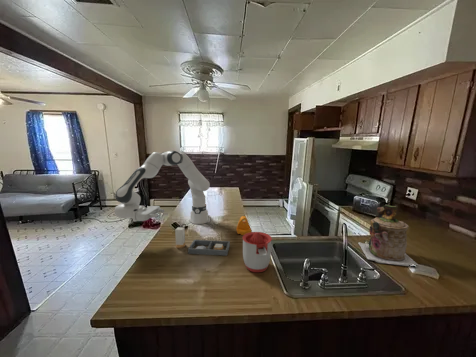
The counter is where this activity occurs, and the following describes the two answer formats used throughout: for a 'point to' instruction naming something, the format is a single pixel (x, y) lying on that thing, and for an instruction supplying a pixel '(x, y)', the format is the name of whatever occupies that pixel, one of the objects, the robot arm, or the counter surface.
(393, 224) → the cookie jar
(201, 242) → the grey divided tray
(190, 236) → the counter surface
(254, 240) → the citrus juicer
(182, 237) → the white upright block
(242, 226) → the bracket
